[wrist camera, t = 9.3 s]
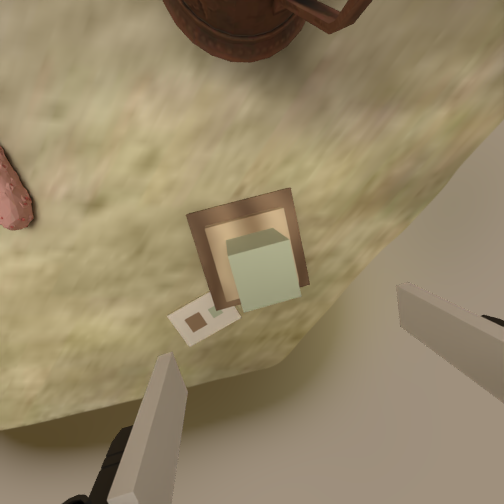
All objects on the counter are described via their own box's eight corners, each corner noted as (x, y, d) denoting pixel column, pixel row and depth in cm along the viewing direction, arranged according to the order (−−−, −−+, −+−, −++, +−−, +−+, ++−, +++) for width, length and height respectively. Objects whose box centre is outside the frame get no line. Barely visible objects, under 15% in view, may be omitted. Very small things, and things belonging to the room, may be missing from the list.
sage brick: (238, 284, 33) (243, 312, 25) (225, 240, 31) (227, 256, 24) (282, 271, 33) (301, 296, 25) (272, 227, 32) (289, 239, 24)
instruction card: (189, 345, 38) (189, 347, 38) (167, 315, 37) (166, 316, 36) (241, 316, 38) (241, 318, 38) (221, 284, 37) (221, 285, 36)
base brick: (216, 306, 37) (215, 319, 34) (187, 213, 34) (183, 216, 30) (306, 280, 38) (316, 291, 34) (287, 188, 35) (296, 187, 31)
